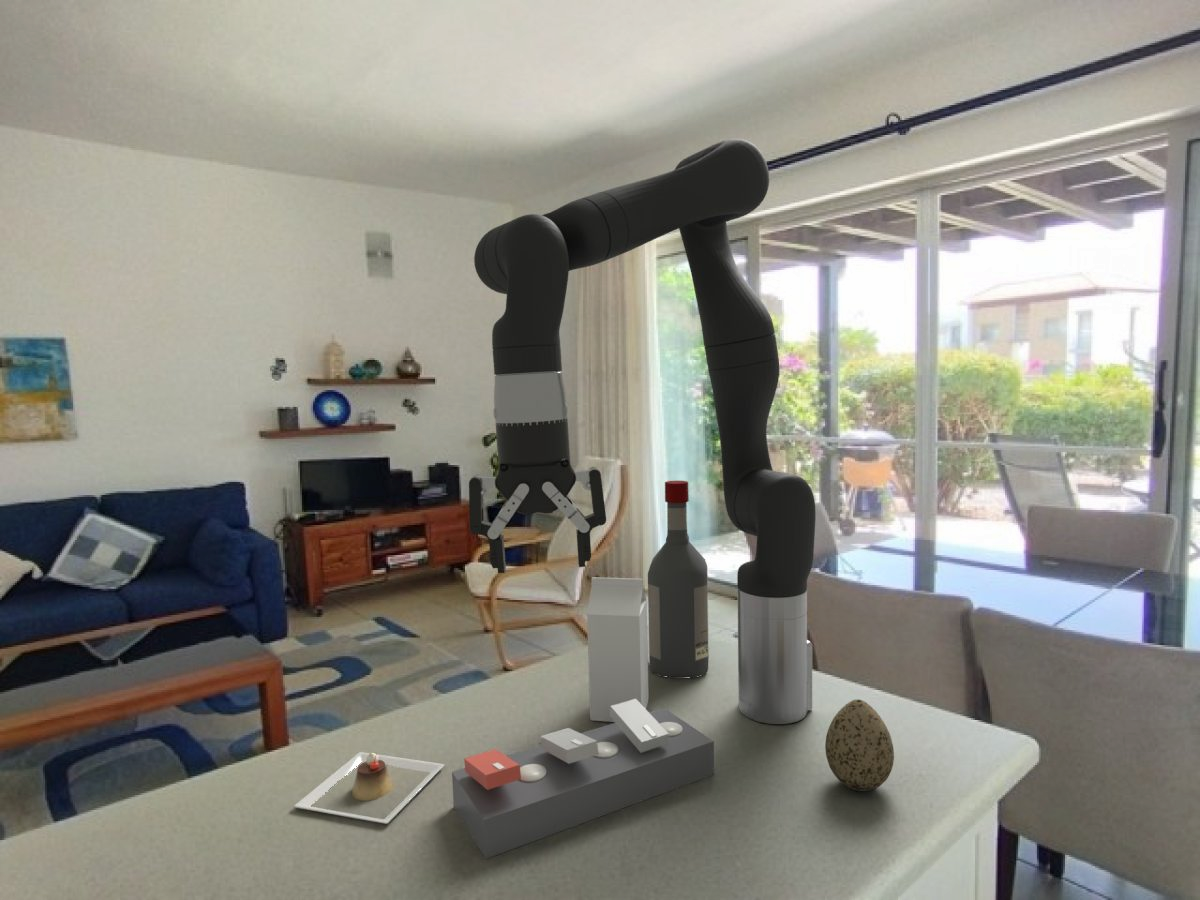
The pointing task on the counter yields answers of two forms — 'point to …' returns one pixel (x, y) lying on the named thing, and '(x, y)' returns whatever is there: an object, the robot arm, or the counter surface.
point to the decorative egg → (859, 747)
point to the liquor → (678, 596)
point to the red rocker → (492, 769)
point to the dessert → (370, 782)
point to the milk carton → (616, 645)
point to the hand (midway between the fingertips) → (541, 568)
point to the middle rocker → (569, 745)
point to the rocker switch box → (579, 784)
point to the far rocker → (638, 725)
